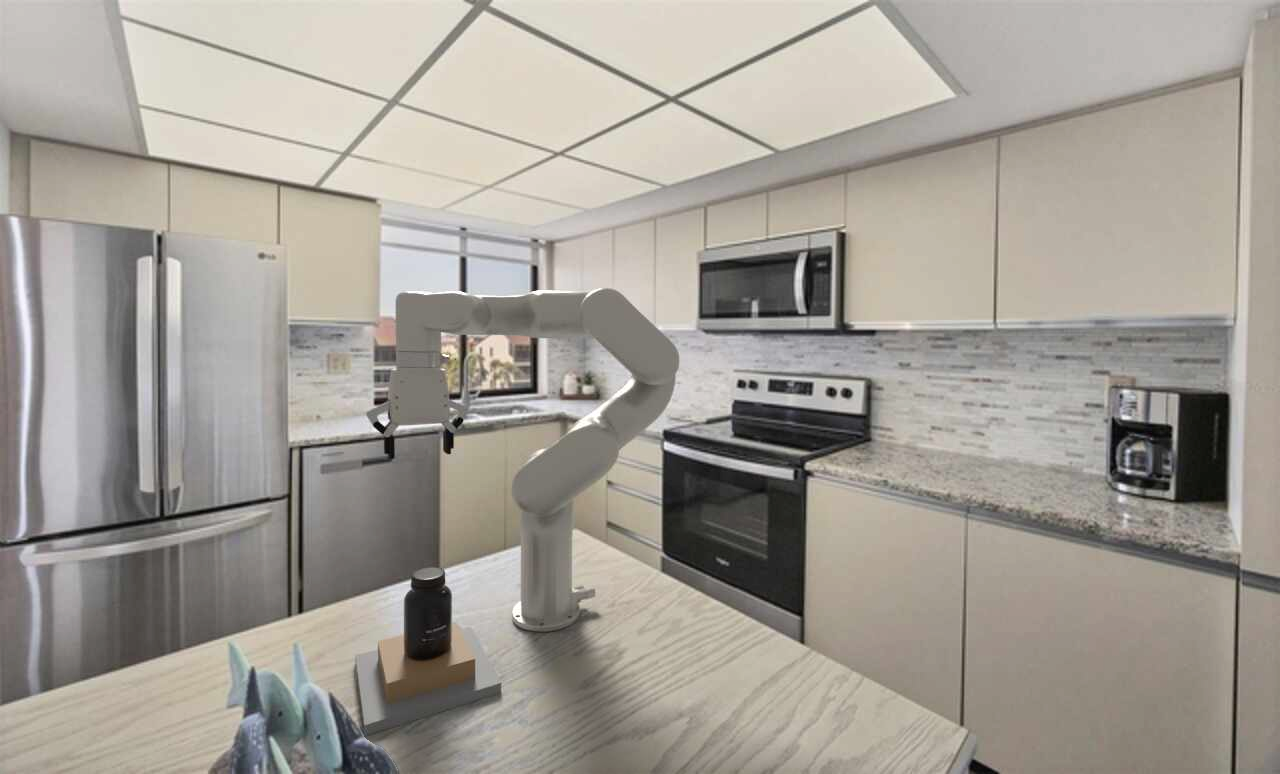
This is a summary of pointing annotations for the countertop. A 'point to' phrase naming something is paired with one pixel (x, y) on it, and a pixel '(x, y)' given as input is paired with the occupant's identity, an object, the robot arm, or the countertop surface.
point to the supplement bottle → (427, 615)
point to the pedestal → (421, 680)
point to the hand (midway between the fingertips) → (419, 455)
